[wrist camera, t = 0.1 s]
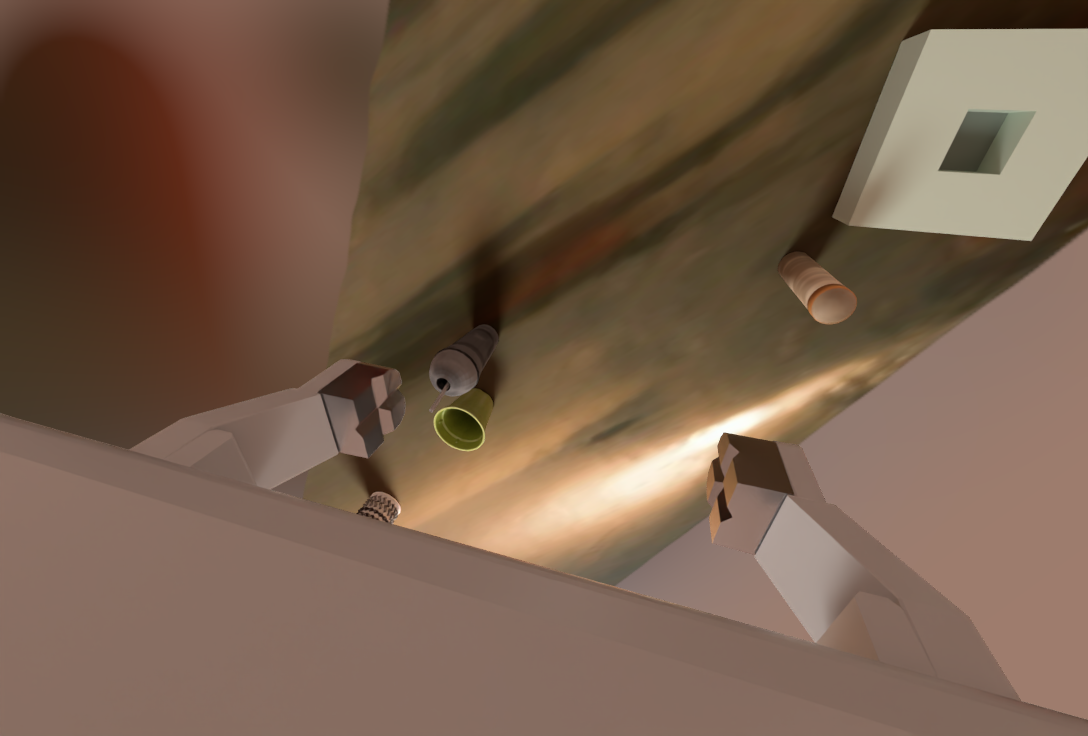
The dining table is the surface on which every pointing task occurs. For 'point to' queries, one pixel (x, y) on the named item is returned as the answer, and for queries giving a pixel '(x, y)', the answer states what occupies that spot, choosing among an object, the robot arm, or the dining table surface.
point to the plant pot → (465, 420)
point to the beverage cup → (462, 362)
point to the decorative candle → (381, 507)
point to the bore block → (973, 133)
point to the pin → (817, 288)
